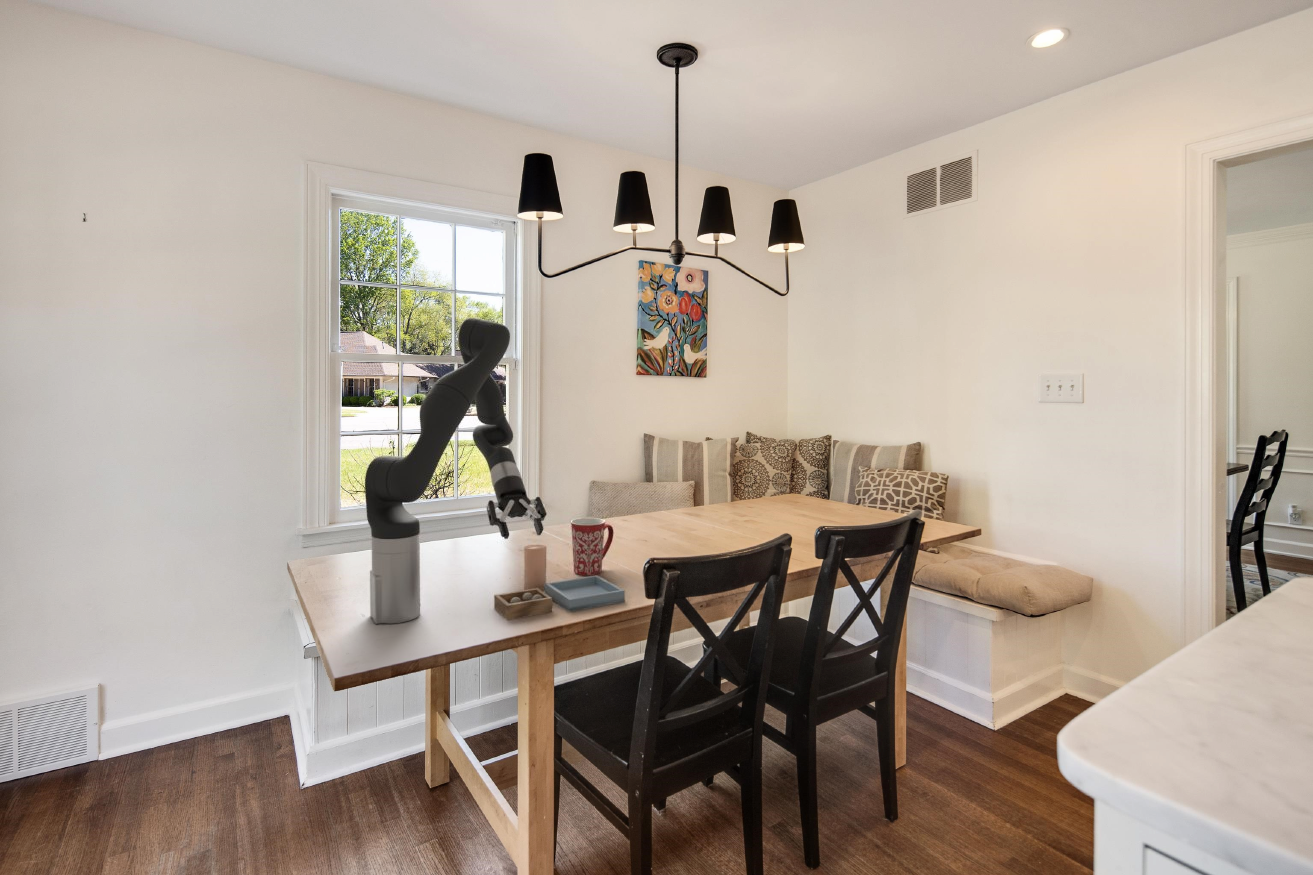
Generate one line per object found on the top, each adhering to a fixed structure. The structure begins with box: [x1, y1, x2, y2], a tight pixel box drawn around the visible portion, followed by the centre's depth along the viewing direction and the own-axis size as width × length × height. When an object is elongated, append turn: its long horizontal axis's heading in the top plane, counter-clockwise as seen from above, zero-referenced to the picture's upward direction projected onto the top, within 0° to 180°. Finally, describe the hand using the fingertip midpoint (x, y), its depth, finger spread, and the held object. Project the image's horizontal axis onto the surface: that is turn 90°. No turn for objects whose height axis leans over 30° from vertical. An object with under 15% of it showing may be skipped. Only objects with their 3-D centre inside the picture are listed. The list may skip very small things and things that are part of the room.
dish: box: [544, 574, 626, 612], centre depth 149 cm, size 14×14×3 cm
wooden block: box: [523, 544, 548, 592], centre depth 155 cm, size 5×5×10 cm
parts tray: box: [493, 588, 553, 621], centre depth 140 cm, size 10×8×3 cm
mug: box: [570, 517, 615, 576], centre depth 171 cm, size 13×9×14 cm
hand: (523, 535), depth 161 cm, fingers open, 8 cm apart
